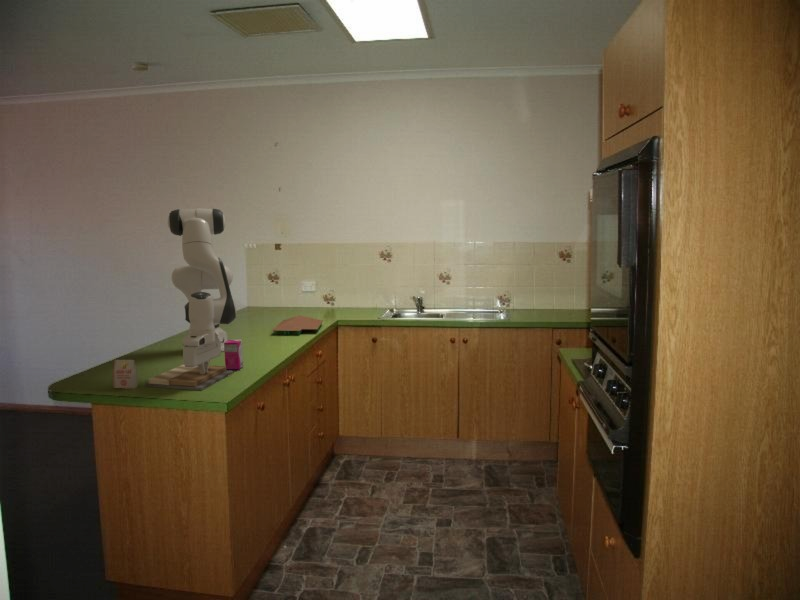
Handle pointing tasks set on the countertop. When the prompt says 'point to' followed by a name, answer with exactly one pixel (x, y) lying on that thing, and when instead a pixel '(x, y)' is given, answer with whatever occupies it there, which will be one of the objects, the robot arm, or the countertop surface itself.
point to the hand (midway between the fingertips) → (203, 373)
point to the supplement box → (233, 354)
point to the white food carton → (125, 374)
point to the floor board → (199, 387)
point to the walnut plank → (197, 376)
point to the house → (298, 324)
